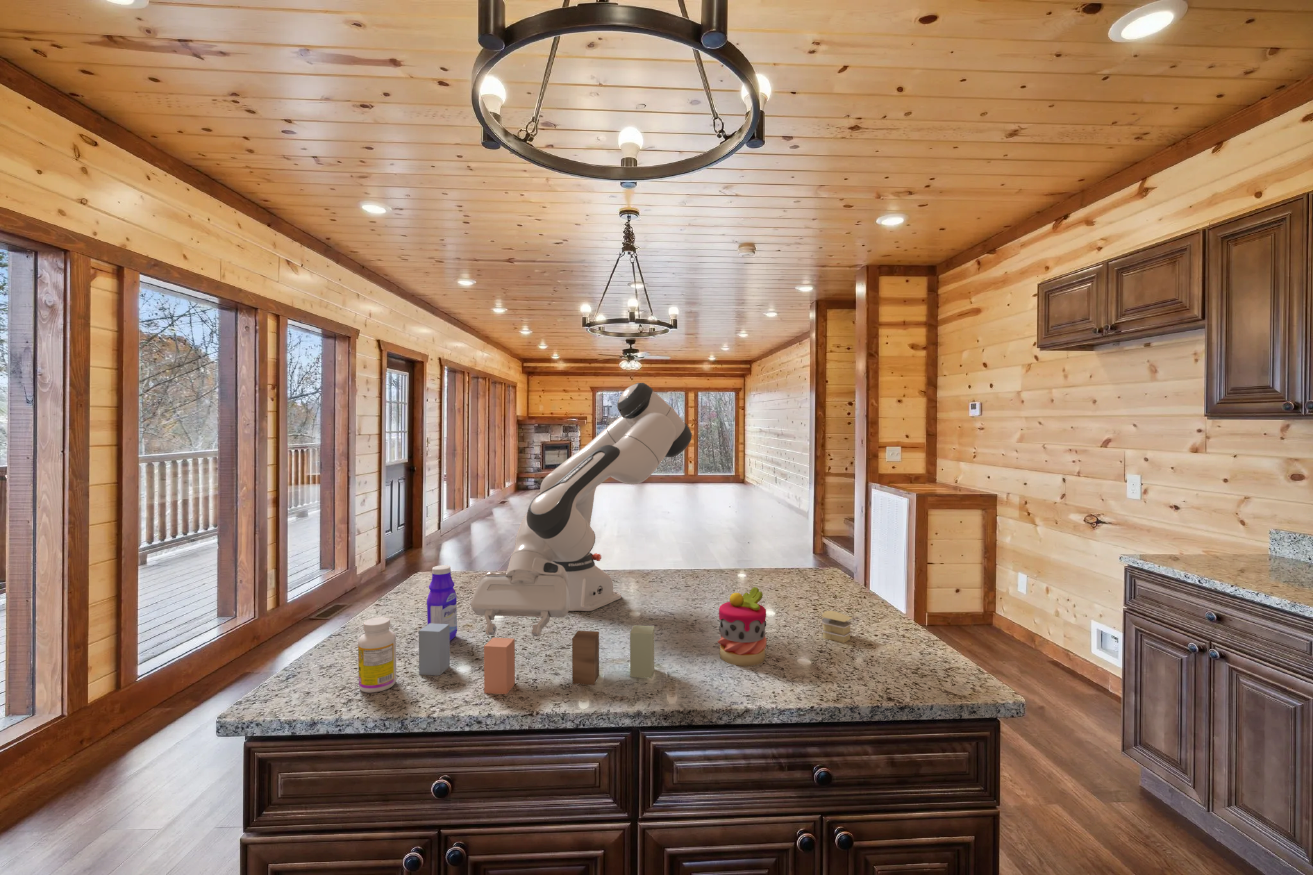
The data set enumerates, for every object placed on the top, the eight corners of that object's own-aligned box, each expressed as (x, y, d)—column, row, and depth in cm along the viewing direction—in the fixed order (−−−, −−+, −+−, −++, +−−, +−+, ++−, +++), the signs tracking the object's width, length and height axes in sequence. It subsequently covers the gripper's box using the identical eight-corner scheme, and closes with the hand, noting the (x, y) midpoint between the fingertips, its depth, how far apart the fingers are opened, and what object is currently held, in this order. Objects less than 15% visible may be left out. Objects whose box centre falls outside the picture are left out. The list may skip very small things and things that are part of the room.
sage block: (633, 667, 121) (633, 625, 121) (654, 668, 121) (654, 626, 121) (630, 676, 117) (630, 632, 117) (651, 678, 117) (651, 633, 116)
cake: (736, 670, 120) (736, 598, 120) (709, 652, 130) (709, 586, 129) (776, 661, 125) (776, 592, 125) (747, 644, 134) (747, 580, 134)
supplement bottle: (367, 679, 116) (366, 615, 116) (401, 677, 116) (400, 614, 116) (352, 694, 109) (351, 627, 109) (388, 693, 110) (388, 626, 110)
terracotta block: (493, 682, 114) (493, 637, 114) (514, 683, 114) (514, 638, 114) (484, 692, 110) (484, 646, 110) (506, 694, 110) (506, 647, 109)
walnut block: (578, 674, 118) (577, 630, 118) (599, 675, 118) (599, 631, 118) (572, 683, 114) (572, 638, 114) (594, 685, 113) (594, 639, 113)
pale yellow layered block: (863, 639, 139) (864, 616, 138) (845, 649, 132) (846, 625, 132) (825, 628, 146) (825, 607, 146) (807, 638, 139) (807, 615, 139)
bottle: (444, 646, 133) (444, 571, 132) (422, 644, 134) (421, 569, 134) (461, 635, 140) (460, 563, 140) (440, 633, 141) (439, 562, 141)
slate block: (429, 665, 123) (429, 623, 122) (449, 666, 122) (449, 624, 122) (419, 674, 118) (418, 630, 118) (439, 675, 118) (439, 631, 118)
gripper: (477, 565, 124) (457, 626, 114) (570, 566, 122) (558, 628, 112) (485, 580, 128) (467, 640, 119) (575, 581, 126) (565, 642, 117)
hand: (512, 634), depth 116 cm, fingers open, 8 cm apart
